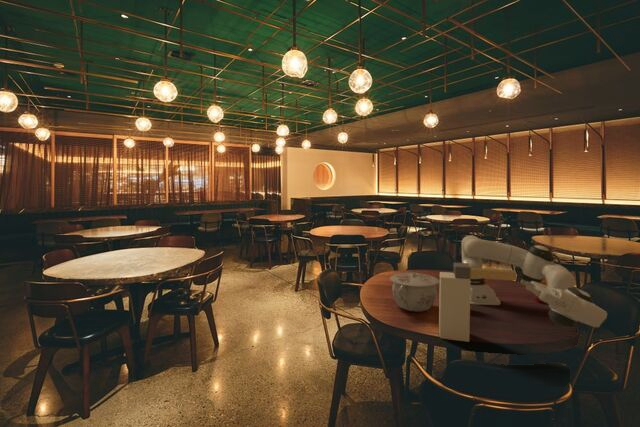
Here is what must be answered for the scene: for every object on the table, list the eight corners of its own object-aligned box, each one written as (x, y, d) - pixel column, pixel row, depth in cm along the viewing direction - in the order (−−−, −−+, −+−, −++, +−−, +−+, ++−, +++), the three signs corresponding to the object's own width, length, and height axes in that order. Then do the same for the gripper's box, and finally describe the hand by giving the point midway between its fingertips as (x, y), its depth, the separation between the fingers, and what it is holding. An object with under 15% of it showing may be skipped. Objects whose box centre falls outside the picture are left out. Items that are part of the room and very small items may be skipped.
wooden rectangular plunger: (513, 278, 134) (513, 270, 134) (516, 280, 130) (516, 272, 130) (460, 274, 140) (461, 267, 140) (461, 276, 137) (462, 269, 136)
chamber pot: (423, 298, 192) (424, 265, 191) (449, 314, 165) (450, 277, 164) (381, 301, 187) (381, 267, 186) (400, 319, 160) (401, 280, 159)
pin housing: (466, 332, 144) (467, 262, 142) (469, 341, 135) (470, 267, 133) (439, 328, 148) (439, 261, 146) (440, 338, 138) (440, 266, 136)
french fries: (550, 304, 179) (551, 279, 178) (535, 303, 180) (535, 278, 179) (543, 299, 187) (543, 275, 186) (528, 298, 189) (528, 274, 188)
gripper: (564, 315, 118) (526, 297, 123) (547, 299, 137) (515, 284, 142) (572, 301, 117) (534, 283, 122) (554, 287, 136) (521, 272, 141)
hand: (523, 284), depth 132 cm, fingers open, 8 cm apart
